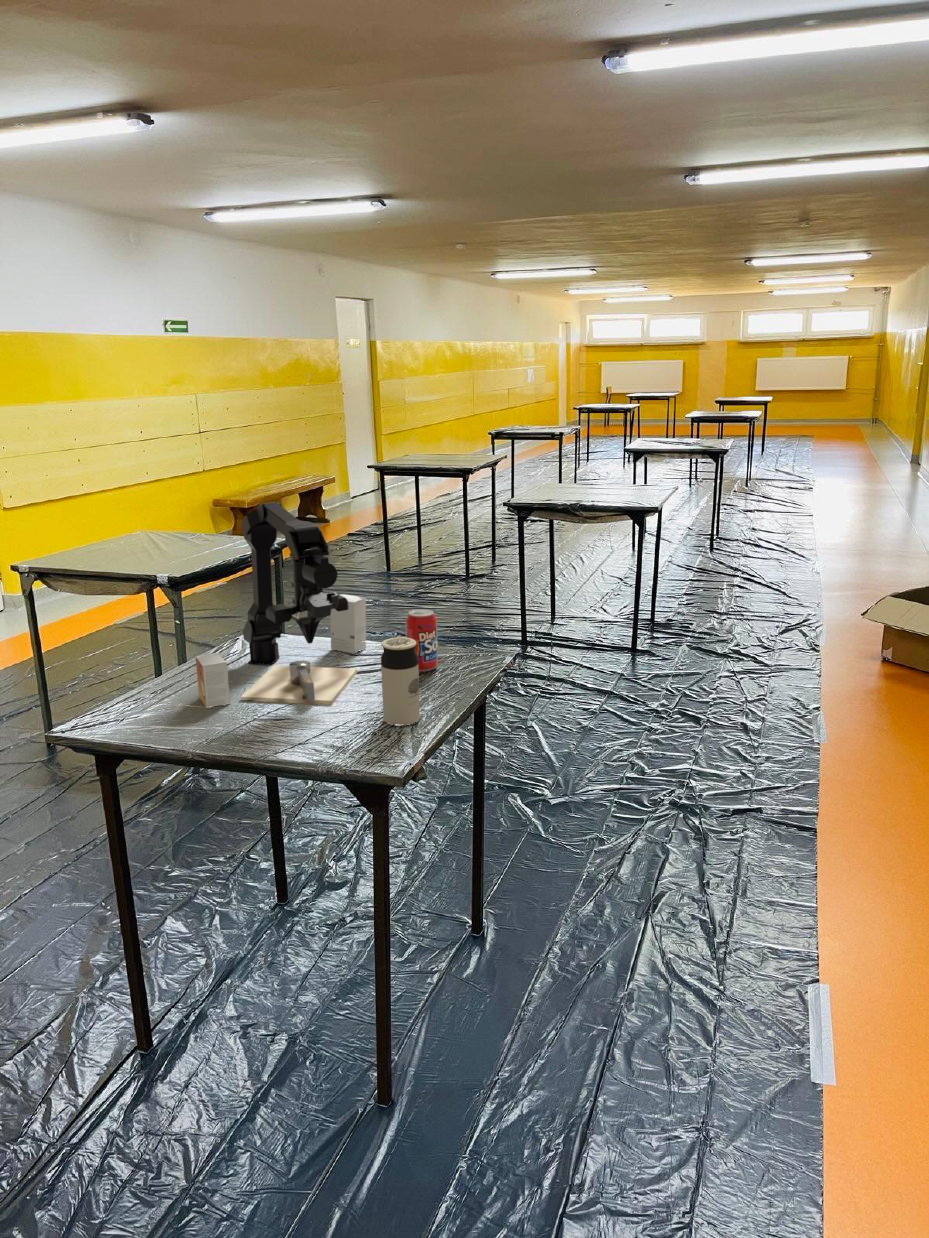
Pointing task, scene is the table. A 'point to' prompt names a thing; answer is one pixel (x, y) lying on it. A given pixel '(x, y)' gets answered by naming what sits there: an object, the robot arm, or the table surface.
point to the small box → (212, 679)
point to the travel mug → (400, 681)
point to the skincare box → (349, 626)
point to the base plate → (281, 689)
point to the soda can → (423, 637)
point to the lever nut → (302, 677)
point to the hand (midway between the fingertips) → (309, 643)
